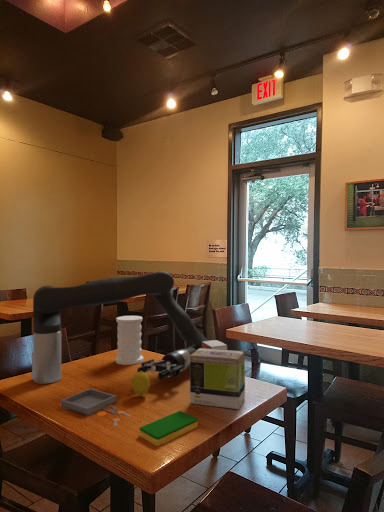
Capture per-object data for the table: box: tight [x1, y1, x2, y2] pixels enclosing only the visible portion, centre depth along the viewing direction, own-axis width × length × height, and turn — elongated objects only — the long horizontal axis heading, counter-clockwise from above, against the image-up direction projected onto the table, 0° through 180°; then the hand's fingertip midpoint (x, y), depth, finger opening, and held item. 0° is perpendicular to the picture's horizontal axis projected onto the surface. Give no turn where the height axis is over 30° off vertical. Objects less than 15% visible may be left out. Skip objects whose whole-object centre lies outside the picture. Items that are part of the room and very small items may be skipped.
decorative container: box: [114, 315, 144, 366], centre depth 152 cm, size 12×12×18 cm
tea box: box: [189, 348, 246, 410], centre depth 111 cm, size 15×10×15 cm
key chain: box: [96, 404, 132, 427], centre depth 101 cm, size 13×7×1 cm, turn 41°
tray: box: [60, 387, 117, 417], centre depth 108 cm, size 11×11×2 cm
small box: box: [202, 339, 228, 350], centre depth 130 cm, size 8×6×13 cm
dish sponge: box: [139, 410, 199, 446], centre depth 92 cm, size 7×14×2 cm, turn 135°
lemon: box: [131, 371, 151, 397], centre depth 114 cm, size 6×6×8 cm
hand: (148, 374), depth 117 cm, fingers open, 8 cm apart
